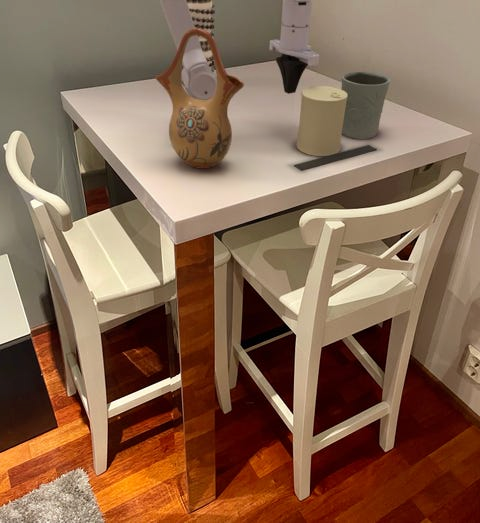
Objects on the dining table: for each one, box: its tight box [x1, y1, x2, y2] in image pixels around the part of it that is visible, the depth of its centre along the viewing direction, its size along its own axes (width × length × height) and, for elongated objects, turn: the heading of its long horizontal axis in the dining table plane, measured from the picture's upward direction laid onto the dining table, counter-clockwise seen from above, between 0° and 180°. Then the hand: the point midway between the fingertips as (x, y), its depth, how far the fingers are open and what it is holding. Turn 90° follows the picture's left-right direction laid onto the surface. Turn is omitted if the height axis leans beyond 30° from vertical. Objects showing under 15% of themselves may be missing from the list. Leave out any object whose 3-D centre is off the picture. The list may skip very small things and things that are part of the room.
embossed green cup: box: [340, 71, 391, 140], centre depth 114 cm, size 10×10×12 cm
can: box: [296, 85, 348, 157], centre depth 106 cm, size 9×9×12 cm
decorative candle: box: [186, 0, 216, 73], centre depth 138 cm, size 9×9×25 cm
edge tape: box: [293, 144, 378, 171], centre depth 106 cm, size 20×2×1 cm, turn 122°
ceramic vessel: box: [154, 28, 245, 169], centre depth 94 cm, size 16×9×25 cm, turn 76°
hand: (289, 92), depth 112 cm, fingers closed
